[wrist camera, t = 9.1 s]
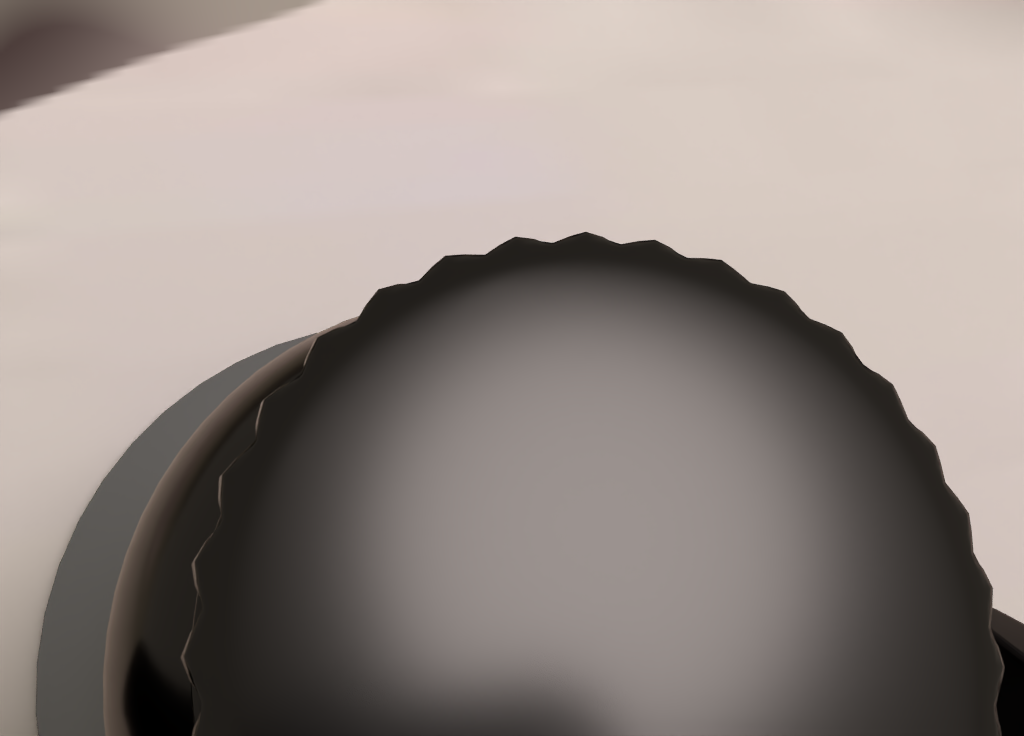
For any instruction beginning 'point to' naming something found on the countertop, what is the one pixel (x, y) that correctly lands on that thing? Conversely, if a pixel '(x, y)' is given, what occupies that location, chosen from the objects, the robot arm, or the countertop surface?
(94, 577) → the coaster
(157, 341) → the countertop surface
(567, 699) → the supplement bottle
